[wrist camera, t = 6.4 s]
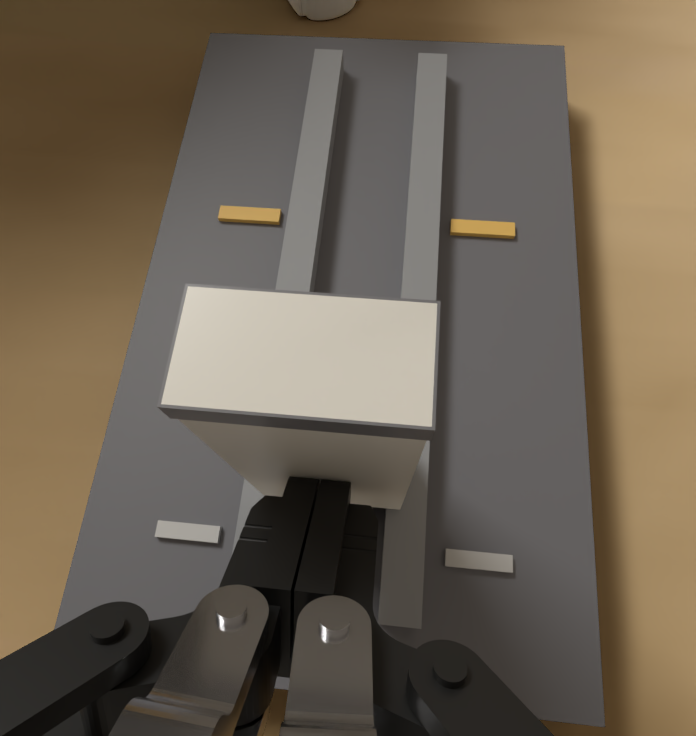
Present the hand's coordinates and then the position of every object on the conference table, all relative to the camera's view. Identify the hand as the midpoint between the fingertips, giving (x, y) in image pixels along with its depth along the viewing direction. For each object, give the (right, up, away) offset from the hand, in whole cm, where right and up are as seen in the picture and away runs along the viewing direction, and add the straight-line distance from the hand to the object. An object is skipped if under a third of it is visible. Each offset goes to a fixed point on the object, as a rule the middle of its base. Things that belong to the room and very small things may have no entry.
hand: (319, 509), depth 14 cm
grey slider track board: (+1, +5, +9) cm, 11 cm away
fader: (0, 0, +4) cm, 4 cm away
